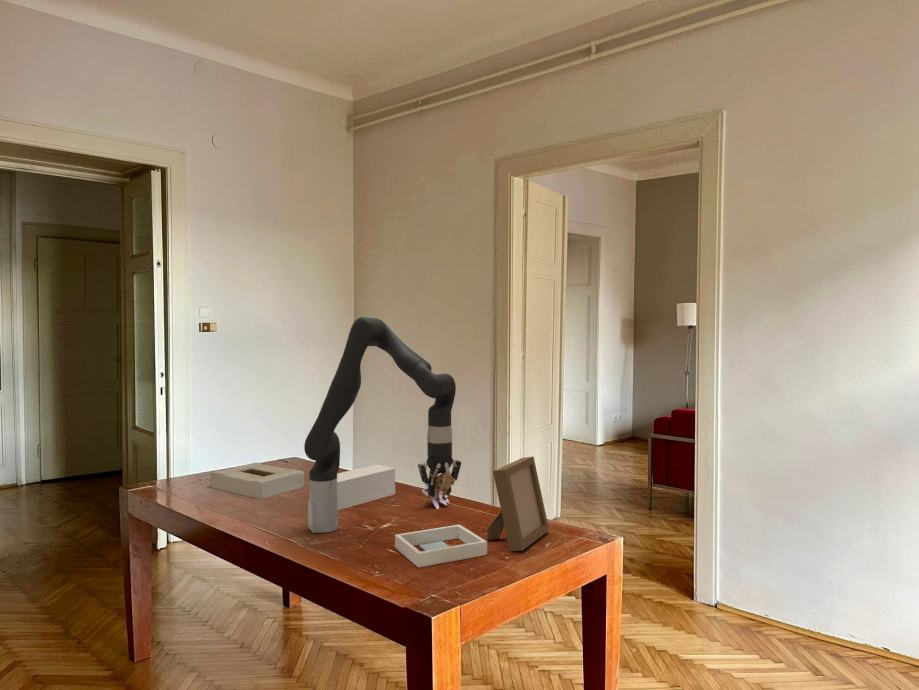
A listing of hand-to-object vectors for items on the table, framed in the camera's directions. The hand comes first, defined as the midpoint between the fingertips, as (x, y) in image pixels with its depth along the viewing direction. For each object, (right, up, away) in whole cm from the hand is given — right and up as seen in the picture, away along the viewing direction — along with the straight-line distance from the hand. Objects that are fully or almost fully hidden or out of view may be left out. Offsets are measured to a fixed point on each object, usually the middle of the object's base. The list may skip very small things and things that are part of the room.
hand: (439, 495), depth 203 cm
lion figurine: (0, -1, +1) cm, 2 cm away
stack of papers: (-34, -15, +57) cm, 69 cm away
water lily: (-3, -15, +50) cm, 52 cm away
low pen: (0, -17, +1) cm, 17 cm away
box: (-79, -15, +77) cm, 111 cm away
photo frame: (+24, -17, +11) cm, 31 cm away
